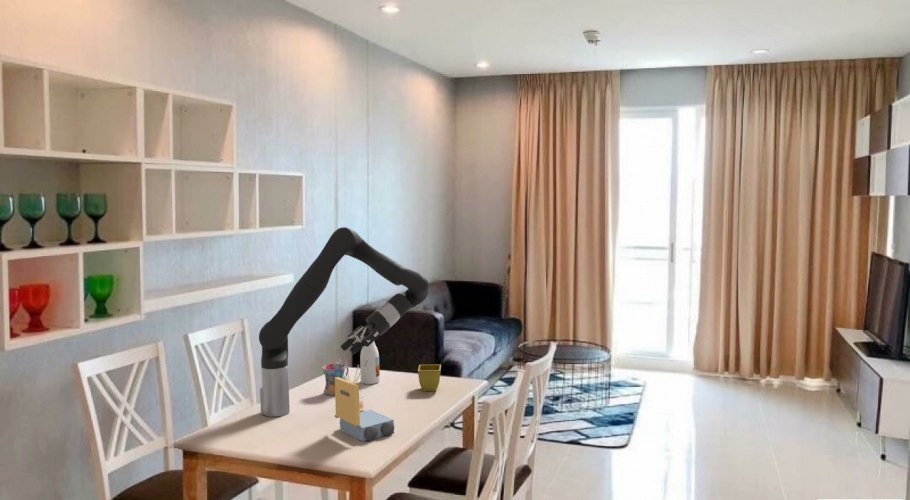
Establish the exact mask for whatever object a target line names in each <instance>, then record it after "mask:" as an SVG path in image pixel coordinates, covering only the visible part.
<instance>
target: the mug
mask: <svg viewBox="0 0 910 500" xmlns="http://www.w3.org/2000/svg"><path fill="white" fill-rule="evenodd" d="M321 369H322V371H323V373H324V374H323V375H324V378H325V387H324V390H323V393H324V394H325V395H328V396H335V377H339V378H342V379H344V380H346V378H344V376H345V375H346V377H347V376H348V374H349V368H348V366H347V365H345V364H344V363H329V364H324V365H322V366H321ZM345 371H346V373H345ZM344 374H345V375H344Z"/></svg>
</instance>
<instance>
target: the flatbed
mask: <svg viewBox="0 0 910 500" xmlns="http://www.w3.org/2000/svg"><path fill="white" fill-rule="evenodd" d="M359 413H360V426H361V429H358V428H357V426H355V425H353V424H351V423H349V422H347V421H345V420H343V419H341V418H339V427H340V428H339V429H340V431H341V432H343V433H346V434H347V435H349V436H352V437H353V438H356V439H357V440H359V441H361V442H365V441H374V440H375V439H377V438H380V437H383V436H388V437H389V436H391V435H392V434H394V433H395V423H394V422H395V420H394V418H391V417H389V416H386V415H384V414H381V413H379V412H378V411H375V410H374V409H373V410H372V409H368V410H364V409H363V410H359Z"/></svg>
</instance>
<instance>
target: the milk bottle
mask: <svg viewBox="0 0 910 500" xmlns="http://www.w3.org/2000/svg"><path fill="white" fill-rule="evenodd" d="M359 358H360V361H359V362H360V363H359V364H360V365H359V366H360V382H361V384H364V385H375V384H378V383H380V380H381V379H380V378H381V377H380V376H381V375H380V373H381V372H380V355H379V351H378V347H377V345H376V343H375V341H374V342H372V343H371V344H370V345H369V346H368V347H366V346H365V347H362V348H361V349H360V357H359ZM367 360H368V361H367ZM366 361H367V364H366V366H365V367H364V365H365V363H366ZM363 367H364V368H363ZM362 368H363V369H362Z"/></svg>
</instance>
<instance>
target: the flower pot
mask: <svg viewBox="0 0 910 500" xmlns="http://www.w3.org/2000/svg"><path fill="white" fill-rule="evenodd" d="M441 368H442V364H419V365H418V369H417V374H418V376H417V377H418V382H419V385H420V388H421V390H422V391H424V392H436V391H437V390H438V388H439V384H440V379H441V370H442V369H441Z"/></svg>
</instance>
